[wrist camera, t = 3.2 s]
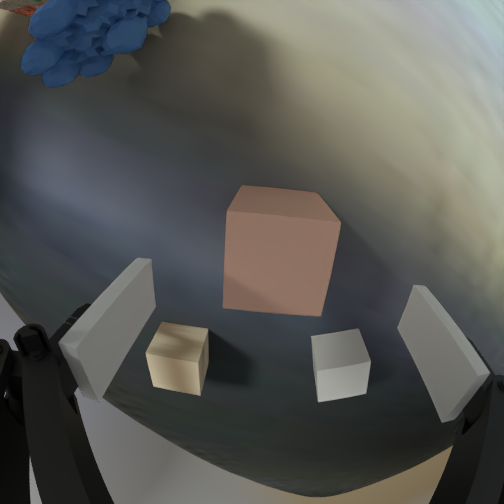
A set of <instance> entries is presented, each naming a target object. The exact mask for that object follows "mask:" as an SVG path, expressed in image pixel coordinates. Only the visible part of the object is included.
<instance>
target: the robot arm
mask: <svg viewBox="0 0 504 504" xmlns="http://www.w3.org/2000/svg"><path fill="white" fill-rule="evenodd" d="M155 307H156V304H155V295H154V286H153V275H152V264H151V259H145V258H136V259H135V260H134V261H133V262H132V263H131V264H130V265H129V266H128V267H127V268H126V269H125V270H124V271H123V272H122V273H121V274H120V275H119V276H118V277H117V278H116V280H115V281H114V282H113V283H112V284H111V285H110V286H109V287H108V288H107V289H106V290H105V291H104V292H103V293H102V294H101V295H100V296H99V297H98V298H97V299H96V301H95V302H94V303H93V304H88V303H87V304H85V305H83V306H81V307H80V308H78V309H77V310H76V311H75V312H74V313H73V314H72V315H71V317H69V318H68V319H67V320H66V322H65V323H64V324H63V325H62V326H61V327H60V328H59V329H58V330H57V331H56V333H55V334H54V335H53V336H52V337H51V338H50V339H48V337H47V334H46V332H45V329H44V328H43V327H42V326H41V325H38V324H29V325H26V326H23V327H22V328H20V329H19V330H18V331H17V332H16V333H15V336H14V338H13V339H14V341H15V344H16V346H17V348H18V350H19V351H14V350H12V349H11V347H10V345H9V343H8V342H7V341H6V340H4V339H0V504H30V503H31V502H30V485H29V484H30V483H29V459H30V458H31V463H32V467H33V472H34V476H35V480H36V484H37V487H38V491H39V495H40V498H41V501H42V504H114V502H113V500H112V498H111V496H110V494H109V492H108V490H107V487H106V485H105V483H104V480H103V478H102V476H101V473H100V471H99V469H98V466H97V463H96V461H95V458H94V455H93V452H92V450H91V447H90V444H89V441H88V438H87V435H86V431H85V428H84V425H83V421H82V418H81V414H80V410H79V406H78V403H77V398H76V396H75V394H74V392H75V390H76V389H77V387H79V389H80V391H81V393H82V395H83V396H84V397H87V398H89V399H92V400H95V401H97V402H100V400H101V398H102V396H103V395H104V393H105V391H106V389H107V387H108V386H109V384H110V382H111V380H112V379H113V377H114V375H115V373H116V372H117V370H118V368H119V367H120V365H121V363H122V361H123V360H124V358H125V356H126V355H127V353H128V351H129V350H130V348H131V346H132V345H133V343H134V341H135V340H136V338H137V336H138V335H139V333H140V331H141V330H142V328H143V326H144V325H145V323H146V322H147V320H148V318H149V317H150V315H151V314H152V312H153V310H154V309H155ZM397 329H398V331H399V333H400V335H401V336H402V338H403V340H404V342H405V344H406V346H407V348H408V350H409V352H410V354H411V356H412V358H413V360H414V362H415V364H416V366H417V368H418V370H419V372H420V374H421V377H422V379H423V381H424V383H425V385H426V387H427V389H428V392H429V394H430V396H431V398H432V401H433V403H434V405H435V408H436V410H437V412H438V415H439V417H440V420H441V422H442V423H443V422H447V421H451V420H454V419H455V418H456V417H457V416H458V415H459V414H460V413H461V411H462V410H463V412H464V414H465V416H464V417H463V418H462V419H461V420H460V421H459V423H458V424H457V425H456V426H455V427H454V428H453V429H452V431H451V432H452V433H453V432H454V431H455V430H456V429H457V428H458V432H457V433H456V434H457V435H456V438H455V441H454V444H453V448H452V450H451V453H450V456H449V459H448V462H447V464H446V467H445V469H444V472H443V474H442V477H441V479H440V481H439V483H438V486H437V488H436V490H435V492H434V494H433V496H432V499H431V501H430V503H429V504H504V376H503V375H497V376H495V374H494V373H493V371H492V370H491V368H490V367H489V365H488V364H487V362H486V361H485V359H484V358H483V356H481V353H480V352H479V351H478V350H477V348H476V346H475V345H474V344H473V342H472V341H471V340H470V339H469V338H467V337H466V336H465V335H464V334H463V333H462V331H461V330H460V329H459V327H458V326H457V325H456V323H455V322H454V321H453V319H452V318H451V317H450V316H449V314H448V313H447V312H446V311H445V309H444V308H443V307H442V306H441V304H440V303H439V302H438V301H437V299H436V298H435V297H434V296H433V295H432V293H431V292H430V291H429V290H428V289H427V287H426V286H423V285H413V288H412V291H411V294H410V297H409V299H408V302H407V305H406V307H405V310H404V312H403V315H402V317H401V320H400V322H399V325H398V327H397ZM5 392H6V395H5V398H4V394H5Z"/></svg>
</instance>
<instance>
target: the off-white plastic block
mask: <svg viewBox="0 0 504 504" xmlns="http://www.w3.org/2000/svg"><path fill="white" fill-rule="evenodd" d="M311 340H312V354H313V368H314V376H315V383H316V390H317V398H318V402H322V401H329V400H335V399H341V398H346V397H351V396H356V395H361V394H366V391H367V384H368V378H369V371H370V364H371V360H370V357H369V355H368V352H367V349H366V347H365V344H364V341H363V339H362V336H361V333H360V331H359V328H357V329H352V330H346V331H341V332H335V333H329V334H322V335H316V336H311Z"/></svg>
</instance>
